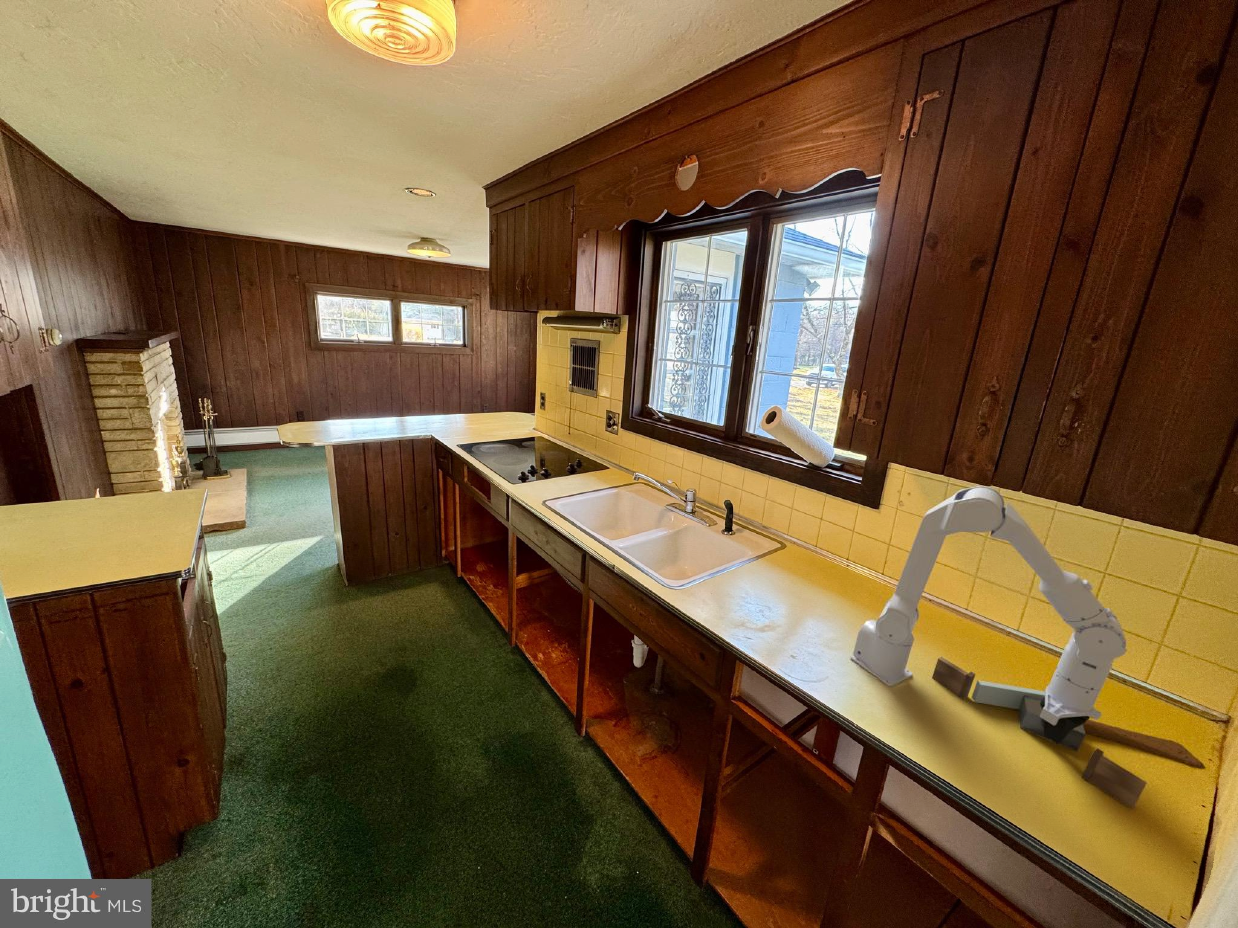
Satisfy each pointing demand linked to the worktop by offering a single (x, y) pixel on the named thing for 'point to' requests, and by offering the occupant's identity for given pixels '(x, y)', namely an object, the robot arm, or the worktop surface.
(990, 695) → the pale grey-green bar
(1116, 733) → the primitive tool
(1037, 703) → the block
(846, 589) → the worktop surface
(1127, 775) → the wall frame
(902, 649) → the robot arm
